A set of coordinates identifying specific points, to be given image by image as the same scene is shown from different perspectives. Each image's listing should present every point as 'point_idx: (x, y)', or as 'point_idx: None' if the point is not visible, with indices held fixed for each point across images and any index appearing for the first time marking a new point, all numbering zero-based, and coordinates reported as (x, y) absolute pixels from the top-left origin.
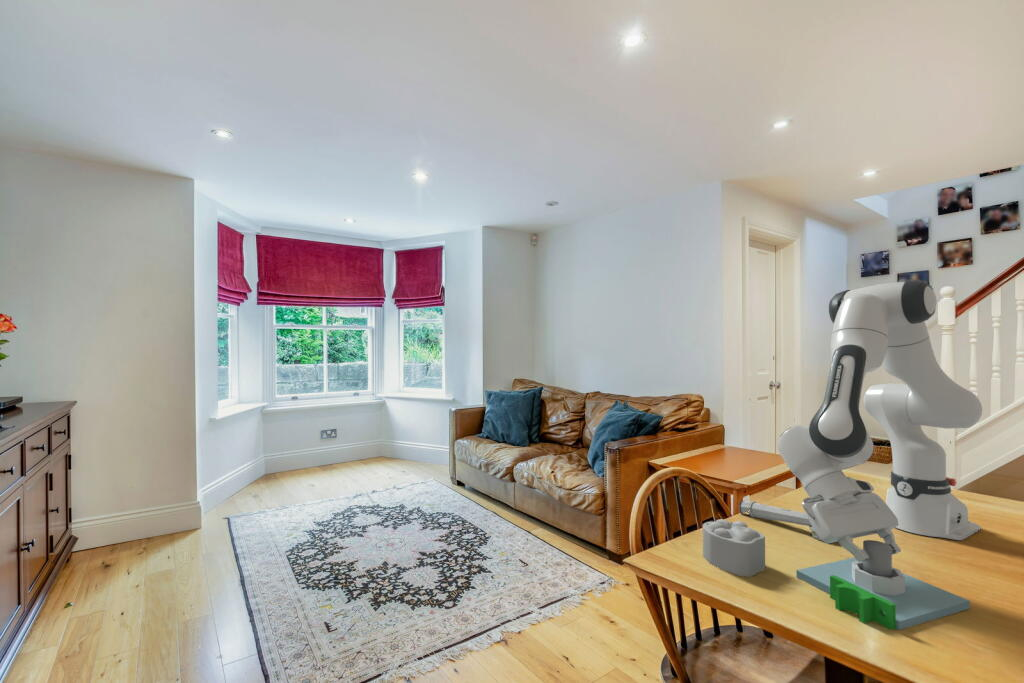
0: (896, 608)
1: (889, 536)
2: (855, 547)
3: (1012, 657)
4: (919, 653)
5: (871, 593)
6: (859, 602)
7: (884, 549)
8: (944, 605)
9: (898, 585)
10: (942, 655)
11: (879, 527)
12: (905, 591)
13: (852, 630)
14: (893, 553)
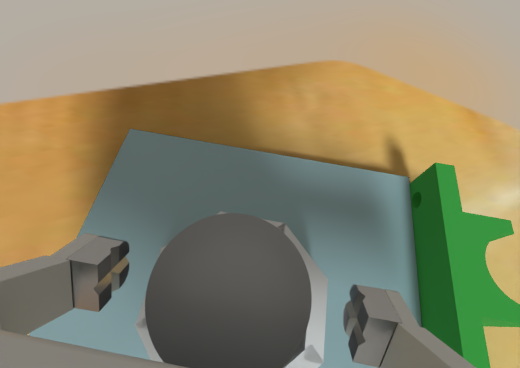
0: (350, 204)
1: (2, 295)
2: (442, 345)
3: (292, 67)
4: (438, 138)
5: (449, 224)
6: (499, 237)
7: (273, 229)
8: (216, 149)
9: None
10: (401, 118)
11: (26, 336)
12: None
13: (511, 241)
14: (126, 260)
